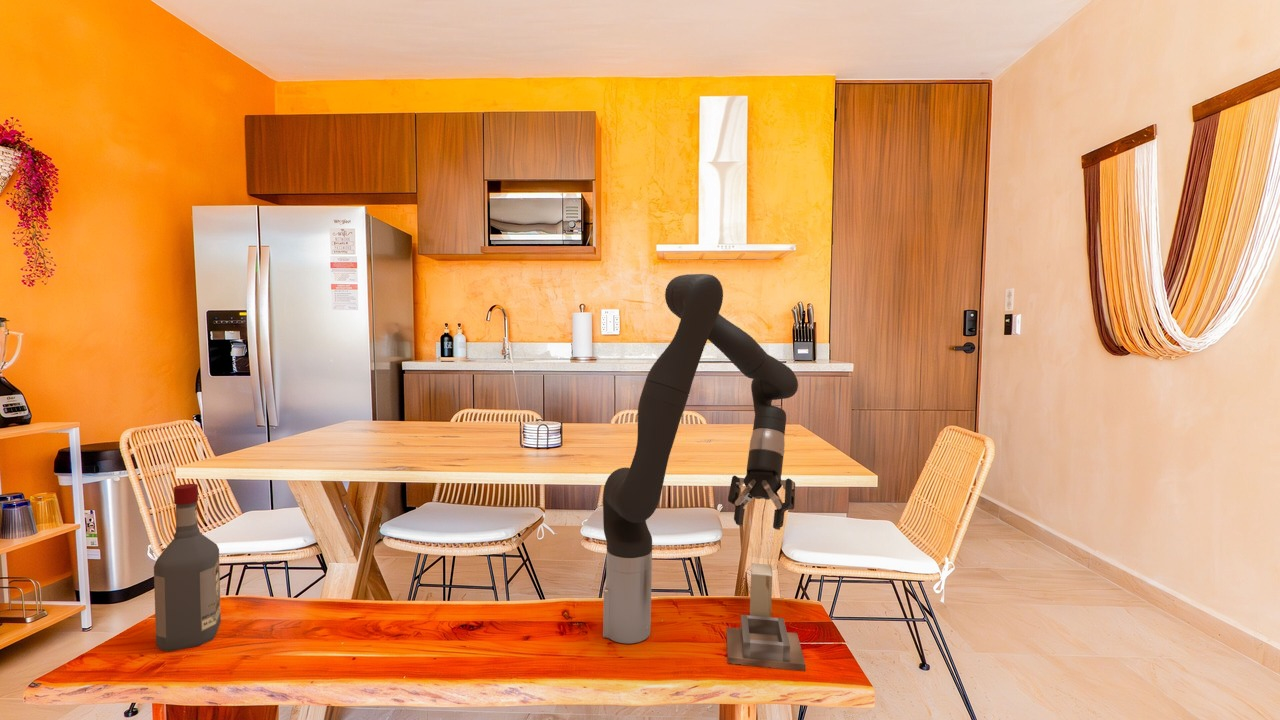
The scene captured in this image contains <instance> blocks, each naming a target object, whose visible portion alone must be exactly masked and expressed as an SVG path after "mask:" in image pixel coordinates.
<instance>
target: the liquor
mask: <svg viewBox="0 0 1280 720" xmlns="http://www.w3.org/2000/svg"><path fill="white" fill-rule="evenodd" d="M198 486H199V485H198V484H197V483H185V484H179V485H176V486H174V487H173V504H174V505H175V532H174V535H173V536H174V538H173V539H172V540H171V541H170V543H169V544H168V545H167V546H166V547H165V549H164V550H163V551H162V552H161V554H159V556H158V558H157V559H156V560H155V564H154V566H153V582H154V583H153V585H154V586H153V587H154V589H153V590H154V614H155V615H154V618H155V621H154V623H155V646H156V647H157V648H158V649H159V650H160V651H161V650H162V651H165V652H173V651H178V650H184V649H190V648H195V647H200V646H202V645H204V644H206V643H208V642H210V641H212V640H214V639H215V637H216V635H217V633H218V630H219V627H220V625H221V623H222V622H221V621H222V620H221V615H222V613H221V579H220V577H221V576H220V575H221V574H220V573H221V571H220V548H219V546H218V544H217V543H215V542H214V541H213V540H211V539H209V538H208V537H207V536H205V535H204V534H203V533H201V532H200V528H199V524H198V504H197V503H198V501H199V488H198Z"/></svg>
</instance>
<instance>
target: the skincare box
mask: <svg viewBox="0 0 1280 720" xmlns="http://www.w3.org/2000/svg"><path fill="white" fill-rule="evenodd" d="M750 567H751V569H750V593H749V594H750V595H749V597H750V598H749V599H750V600H749V601H750V602H749V615H750V616H762V617H772V601H773V600H772V596H773V567H772V565H771V564H763V563H754V562H752V563H751V566H750Z"/></svg>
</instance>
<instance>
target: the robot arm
mask: <svg viewBox="0 0 1280 720" xmlns="http://www.w3.org/2000/svg"><path fill="white" fill-rule="evenodd" d="M664 293H665V294H664V298H665V299H664V300H665V302H666V303H665V304H666V305H667V308H668V309H669V311H670V312H672V314H673V315H675V316H676V317H678V318H679V319H680V320H679V323H678V326H677V329H676V331H675V334H674V336H673V338H672V340H671V341H670V343H669V344H668V346H667V347H666V348H665V349H664V351H663V352H662V353H661V354H660V356H658V358H657V359H656V361H655V362H654V364H652V367H650V369H649V371H648V374H647V375H646V379H645V381H644V384H643V388H642V391H641V393H640V396H639V397H640V398H639V401H638V405H637V437H636V439H637V440H636V447H635V452H634V455H633V458H632V461H631V464H630V467H619V468H617V469H616V470H614V471H612V472H611V474H610V475H609V476H608V477H607V479H606V481H605V484H604V487H603V494H602V515H603V517H602V518H603V519H602V521H603V533H604V536H605V541H606V562H605V563H606V565H605V566H606V571H605V572H606V575H605V579H606V580H605V587H604V590H603V607H602V608H603V612H602V613H603V614H602V615H603V616H602V619H603V621H602V622H603V623H602V637H603V638H607V639H609V640H611V641H613V642H616V643H620V644H637V643H641V642H643V641H644V640H646V639H648V637H650V636H651V627H652V623H651V622H652V621H651V620H652V619H651V618H652V616H651V615H652V581H653V580H652V579H653V577H652V569H653V537H652V534H651V532H650V530H649V527H648V524H647V520H649V518H650V517H652V516H653V514H654V513H655V511H656V510H657V508H658V506H659V503H660V500H661V496H662V490H663V485H664V482H665V478H666V471H667V467H668V462H669V458H670V455H671V451H672V448H673V445H674V443H675V439H676V436H677V432H678V430H679V429H678V428H679V425H680V421H681V419H682V417H683V414H684V411H685V409H686V406H687V403H688V402H687V401H688V398H689V395H690V392H691V388H692V385H693V382H694V378H695V375H696V372H697V369H698V367H699V363H700V361H701V359H702V355H703V353H704V349H705V347H706V344H707V342H708V341H709V342H710V343H711V344H713V345H714V347H716V348H717V349H718V350H719V351H720V352H721V353H722V354H723V355H724V356H725V357H726V358H727V359H728V360H730V362H731V363H732V364H733V365H734V366H735V367H736V368H737V370H739V371H740V372H741V373H742V374H743V375H744V376H745V377H746V378H749V379H752V381H751V385H750V387H751V388H750V389H751V395H752V403H753V409H754V410H753V411H754V420H753V425H752V426H753V428H752V432H751V433H752V434H751V437H750V439H749V448H748V454H747V455H748V456H747V463H746V464H747V465H746V475H745V476H744V477H738V476H737V475H732V477H731V481H730V486H729V487H730V488H729V492H728V496H727V502H729V503H731V504H732V505H734V507H735V508H734V516H733V520H734V522H735V525H737V526H741V527H742V526H743V525H744V518H745V507H746V506H747V505H748V503H751V502H752V501H753V499H756V500H760V499H763V500H771V501H772V503H773V504H774V506H775V508H776V509H774V516H773V522H772V523H773V524H772V527H773V529H774V530H777V531H780V530H781V528H782V527H784V522H785V521H784V519H785V513H786V511H789V510H794V509H795V506H796V505H795V501H796V499H795V498H796V483H795V481H793V480H792V479H790V478H786V479H782V473H783V464H784V463H783V462H784V454H785V446H786V445H785V442H786V441H785V436H786V435H785V434H786V427H787V426H786V423H787V413H786V411H785V410H784V409H783V408H781V407H779V406H774V405H772V402H773V401H777V400H784V399H785V400H786V399H789V398H791V397H793V396H795V395H796V393H797V392H798V389H799V381H798V377H797V376H796V374H795V372H794V371H793V370H792V369H791V368H790V367H789V366H788V365H786V364H785V363H783V362H782V361H780V360H778V359H777V358H775V357H774V356H772V355H770V354H768V353H767V352H766V351H765V350H764V348H762V346H761V345H760V344H759V343H758V342H757V341H756V339H754V338H753V337H752V335H750V334H749V333H748V332H746V331H744V330H743V329H742V328H740V327H739V326H738V325H736V324H734V323H733V322H731V321H729V320H728V319H727V318H726V317H724V316H723V315H721V314H720V312H721V311H720V310H721V308H722V306H723V305H722V304H723V299H724V290H723V286H722V284H721V281H720V280H719V278H717V276H715V275H713V274H707V273H700V274H699V273H695V274H694V273H691V274H682V275H678V276H675V277H674V278H672V279H671V280H670V281H669V282H668V284H667V285H666V288H665V291H664ZM743 485H744V486H745V487H744V489H743V491H741V493H740V490H741V488H742V487H743ZM782 487H783V490H784V502H782V501H783V500H782V498H781V496H780V494H779V493H778V492H779V490H780V489H781V488H782Z"/></svg>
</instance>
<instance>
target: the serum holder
mask: <svg viewBox="0 0 1280 720" xmlns="http://www.w3.org/2000/svg"><path fill="white" fill-rule="evenodd" d="M726 652H727V654H728V655H727V664H728V663H732V664H731V665H735V664H741V665H740V666H746V665H751V666H750V667H757V666H764V667H763V668H768V667H771V668H770V669H781V670H791V671H792V670H793V671H803V672H805V671H806V660H805V658H804V654H803V650H802V646H801V643H800V640H799V635H798V633H797V632H787V628H786V623H785V619H784V618H783V617H773V616H771V617H762V616H750V614H749V615H747V614H741V615H740V627H739V628H738V627H727V626H726Z"/></svg>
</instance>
